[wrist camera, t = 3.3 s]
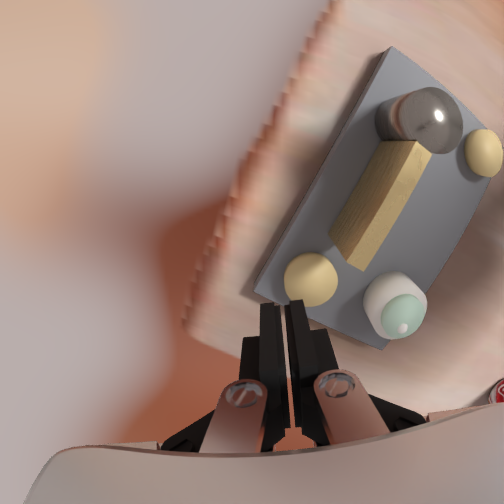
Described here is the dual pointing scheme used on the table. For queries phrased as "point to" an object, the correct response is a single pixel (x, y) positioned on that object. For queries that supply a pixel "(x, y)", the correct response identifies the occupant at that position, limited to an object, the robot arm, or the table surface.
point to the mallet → (395, 168)
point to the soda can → (497, 393)
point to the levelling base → (402, 232)
